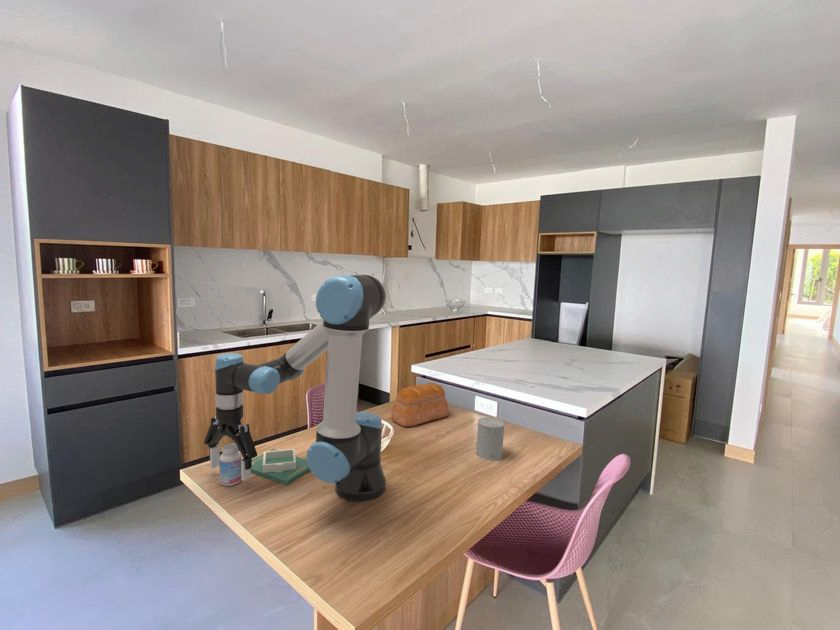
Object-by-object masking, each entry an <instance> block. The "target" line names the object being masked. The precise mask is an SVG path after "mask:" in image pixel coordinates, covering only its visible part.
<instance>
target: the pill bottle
mask: <svg viewBox="0 0 840 630" xmlns="http://www.w3.org/2000/svg"><path fill="white" fill-rule="evenodd" d="M221 452H222V453H220V459H219V460H220V466H219V483H220V485H222V486H225V487H227V486H229V487H230V486H235V485H237V484H239V483H240V482H241V481H242V480H241V459H242V455H241V453H240V451H239V449H238V447H237V445H236V443H235V442H234V443H233V442H232V443H231V442H230V443H227V444H224V445H222V447H221Z"/></svg>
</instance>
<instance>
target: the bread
mask: <svg viewBox="0 0 840 630" xmlns="http://www.w3.org/2000/svg"><path fill="white" fill-rule="evenodd" d="M449 411H450V410H449V404H448V401H447V399H446V391H445V389H444V387H442V386H441V385H439V384H437V383H434V382H428V383H420V384H416V385H411V386H409V387H404V388H401V389H400V390H399V392H397V394H396V396H395V403H394V404H393V406H392V408H391V412H390V413H391V420H392V422H394V423H395V422H396V424H398V425H399V426H402V427H414V426H417V425H422V424H425V422H426V423H428V422H431V421H436V419H437V420H439V419H441V418H445V417H447V416H448V415H449Z"/></svg>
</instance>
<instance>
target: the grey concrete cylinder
mask: <svg viewBox="0 0 840 630" xmlns="http://www.w3.org/2000/svg"><path fill="white" fill-rule="evenodd" d="M504 434H505V422H504V421H503V420H501V419H500V418H499V419H498V418H496V417H481V418H479V419H478V420H477V433H476V435H477V436H476V450H475V451H476V452H475V454H477V455H476V456H477V457H478V456H479V457H478V458H480V459H482V458H483V459H482V460H485V459H486V461H491V460H494V461H499V460H501V459H502V458H503V449H504Z"/></svg>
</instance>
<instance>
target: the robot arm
mask: <svg viewBox="0 0 840 630" xmlns="http://www.w3.org/2000/svg"><path fill="white" fill-rule="evenodd" d="M386 297H387V295H386V289H385V287H384V285H383V284H382V283H381V281H380V280H379V279H378V278H376V277H375V276H372V275H368V274H340V275H335V276H332V277H329V278H327V279H326V280H325V281H324V282H323V283H322V284H321V285H320V287H319V288H318V290H317V293H316V297H315V307H316V311H317V313H318V314H319V317H320V318H321V319H322V320H321V321H320V322H319V323H318V324H317V325H315V326H314V327H313V329H311V330H310V331H309V332H307V333H306V334H305V335H304V336H303V337H302V338H301V339H299V340H298V341H296V343H295V344H294V345H293V346H292V347H290V348H289V349H288V350H287V351H286V352H285V353H284V354H283V355H281V356H280V357H279V358H276V359H273V360H269V361H266V362H262V363H260V364H249V363H246V362H245V361H244V357H243V356H244V355H242V354H240V353H230V352H229V353H222V354H220V355H218V356H217V357H216V358H215V365H214V366H215V367H214V372H215V374H214V376H215V377H214V380H215V406H216V407H215V416H214V417H213V416H212V417H211V418H210V425H209V427H208V430H207V432H206V436H205V438H204V441H203V443H204V445H207V448H209V451H208V452H209V461H210V462H209V463H210V465H209V466H210V470H214V469H215V468H217V467H218V468H219V467H220V460H219V459H220V455H221V453H220V445H219V444H220V442H221V440H222V439H223V437H224V436H225V437H228V438H230V439H231V440H232V441H233V442H234V443H235V444H236V445H237V447H238V449H239V450H238V451H239V452H240V453H241V457H242V458H241V481H242V482H244V481H246V480H248V479H250V478H251V476H252V475H251V474H252V473H251V467H252V459H254V458H256V457H258V452H257V449H256V446H255V444H254V440H253V437H252V435H251V432H250V429H251V428H250V424H248V423H247V424H242V418H243V417H244V405H243V404H244V391H248V392H252V393H255V394H260V395H261V394H265V395H269V394H272V393H274V392H275V390H277V389H278V386H279V385H280V384H283V383H286V382H288V381H292V380H293V381H294V380H295V379H297V378H298V377H300V376H301V375H303V373H304V371H305V369H306V368H307V367H308V366H309V365H311V364H312V363H313V362H314V361H315V360H316V359H318V358H319V357H320V356H321V355H323V353H325V352H326V351H327V353H326V355H327V356H326V368H325V383H324V384H325V385H324V386H325V387H324V401H323V414H322V415H323V416H322V421H321V422H320V423H318V424H317V425H316V433H315V442H314V443H312V444H311V445H310V446H309V448H308V449H307V452H306V456H305V459H306V460H307V464H308V467H309V469H310V471H309V472H311V473H312V474H313V476H314V477H315V478H317V479H318V480H319V481H321V482H323V483H327V484H335V485H334V486H335V487H334V491H335V493H336V494H337V496H339V497H341V498H342V499H345V500H347V501H353V502H364V501H365V502H366V501H370V500H374V499H376V498H378V497H380V496H381V495H383V494H384V492H385V491H386V485H387V484H386V482H387V481H386V480H387V479H386V477H385V474H384V470H383V467H382V464H381V463H382V462H381V455H382V433H383V432H382V429H383V427H382V418H381V417H380V415H378V414H375V413H372V412H367V411H358V410H357V409H358V407H357V406H358V397H359V396H358V395H359V383H360V369H361V357H362V356H361V355H362V345H363V343H362V342H363V335H365V334H366V332H367V331H369V329H370V320H371V319H372V318H373V317H375V316H376V315H377V314H378V313H380V312H381V310H383V308H384V307H385V303H386Z"/></svg>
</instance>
